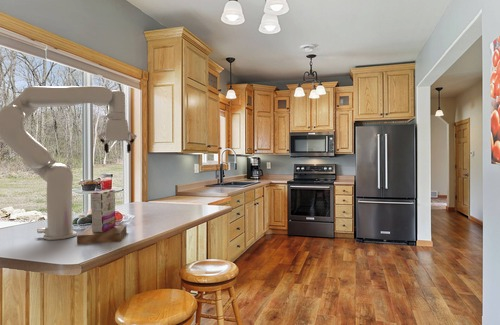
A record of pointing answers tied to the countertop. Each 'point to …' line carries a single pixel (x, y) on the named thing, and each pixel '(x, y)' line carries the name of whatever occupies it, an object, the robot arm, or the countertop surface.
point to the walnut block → (101, 235)
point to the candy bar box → (103, 210)
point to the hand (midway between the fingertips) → (117, 152)
